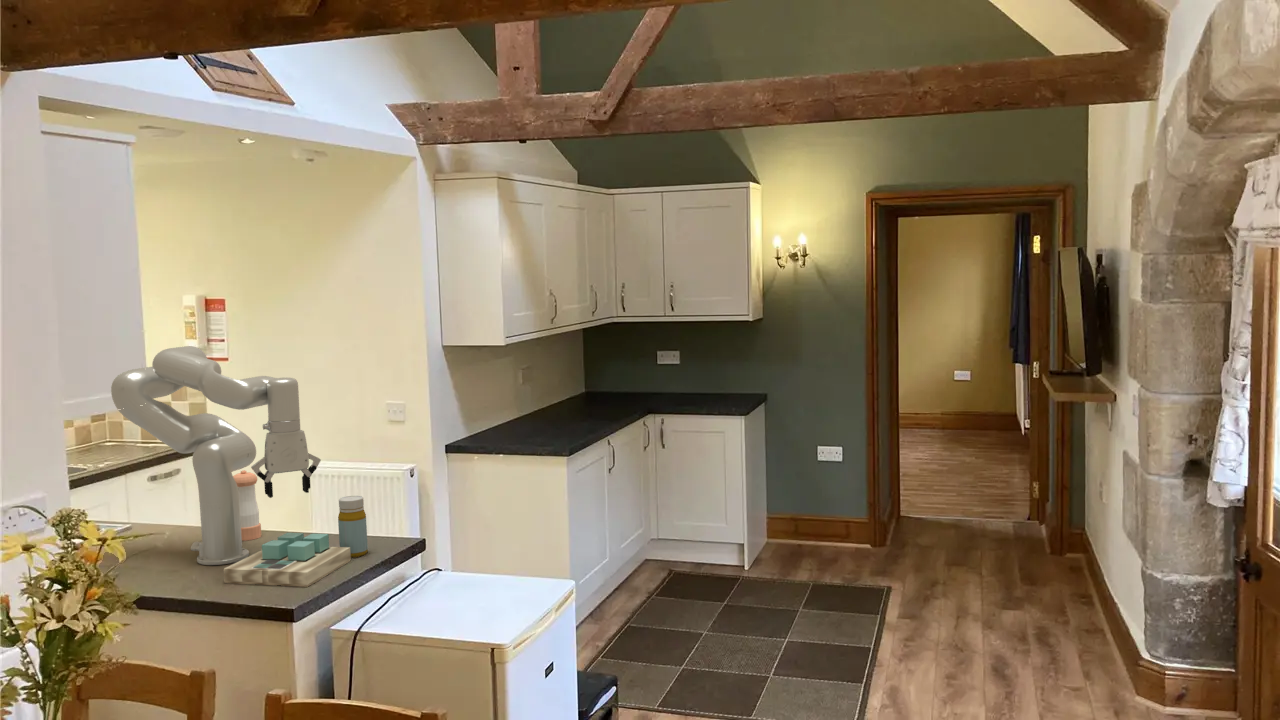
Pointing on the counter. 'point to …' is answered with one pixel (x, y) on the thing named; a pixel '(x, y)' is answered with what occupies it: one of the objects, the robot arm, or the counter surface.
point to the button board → (287, 568)
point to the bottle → (353, 525)
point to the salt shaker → (248, 505)
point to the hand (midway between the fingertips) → (288, 494)
